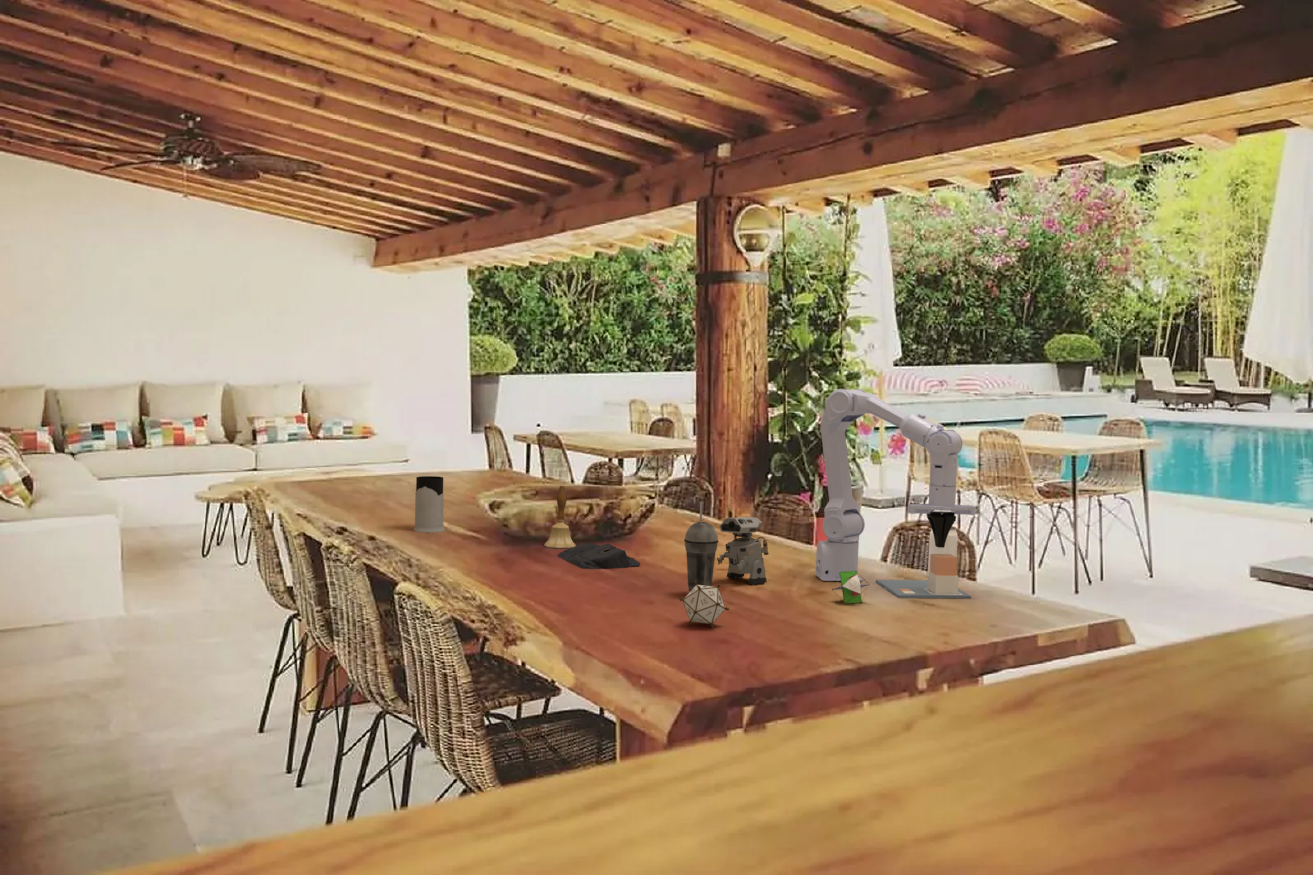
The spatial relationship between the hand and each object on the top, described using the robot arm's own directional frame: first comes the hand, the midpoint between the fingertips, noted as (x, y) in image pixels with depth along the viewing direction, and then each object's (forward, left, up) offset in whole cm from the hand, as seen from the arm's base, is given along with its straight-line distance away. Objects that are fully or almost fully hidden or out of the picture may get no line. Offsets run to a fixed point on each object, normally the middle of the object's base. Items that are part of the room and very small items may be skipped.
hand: (939, 546), depth 258 cm
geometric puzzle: (-22, -11, -11) cm, 27 cm away
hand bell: (-82, +59, -11) cm, 102 cm away
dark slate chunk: (-73, +37, -11) cm, 83 cm away
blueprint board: (-2, +3, -10) cm, 11 cm away
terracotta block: (+1, -1, -6) cm, 6 cm away
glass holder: (-118, +87, -11) cm, 148 cm away
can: (+8, +19, -11) cm, 23 cm away
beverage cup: (-53, -5, -11) cm, 55 cm away
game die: (-56, -34, -11) cm, 66 cm away
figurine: (-42, +10, -11) cm, 45 cm away
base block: (+1, -2, -10) cm, 10 cm away
